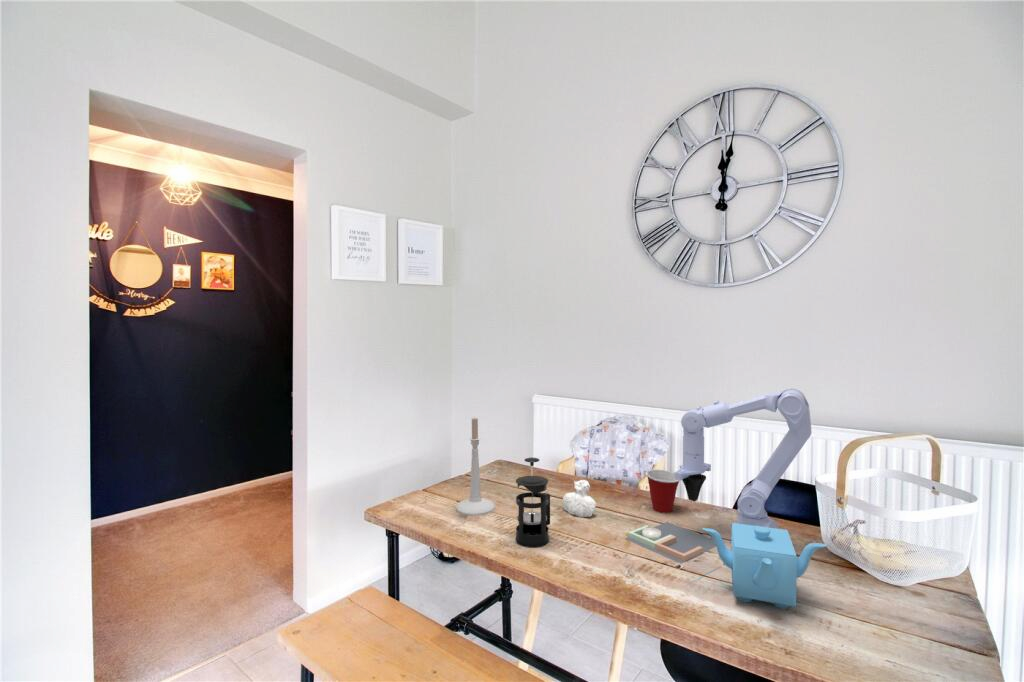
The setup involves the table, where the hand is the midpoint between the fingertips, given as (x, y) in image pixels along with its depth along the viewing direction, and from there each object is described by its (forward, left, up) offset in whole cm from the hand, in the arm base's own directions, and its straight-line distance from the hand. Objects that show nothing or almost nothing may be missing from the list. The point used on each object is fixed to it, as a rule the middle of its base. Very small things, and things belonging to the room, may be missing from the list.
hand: (692, 500), depth 144 cm
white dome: (+4, +13, -9) cm, 16 cm away
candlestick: (+55, +38, -10) cm, 68 cm away
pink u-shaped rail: (-4, +13, -10) cm, 17 cm away
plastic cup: (+16, -8, -10) cm, 21 cm away
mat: (0, +9, -10) cm, 13 cm away
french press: (+25, +38, -10) cm, 47 cm away
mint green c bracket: (+4, +13, -10) cm, 17 cm away
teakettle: (-28, +16, -10) cm, 34 cm away
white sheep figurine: (+31, +14, -10) cm, 36 cm away
